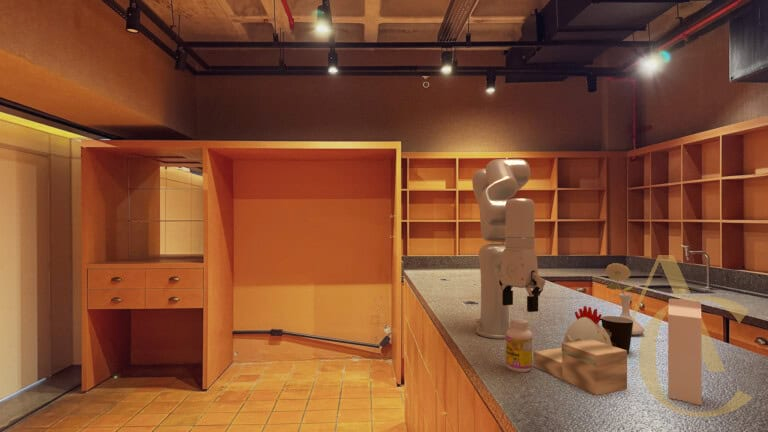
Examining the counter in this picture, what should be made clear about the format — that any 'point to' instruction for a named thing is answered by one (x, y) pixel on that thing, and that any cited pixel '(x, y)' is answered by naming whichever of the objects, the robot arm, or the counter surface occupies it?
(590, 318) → the kitchen timer
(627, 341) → the coffee mug
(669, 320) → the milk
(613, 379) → the stand
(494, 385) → the counter surface
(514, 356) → the supplement bottle
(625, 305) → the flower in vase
